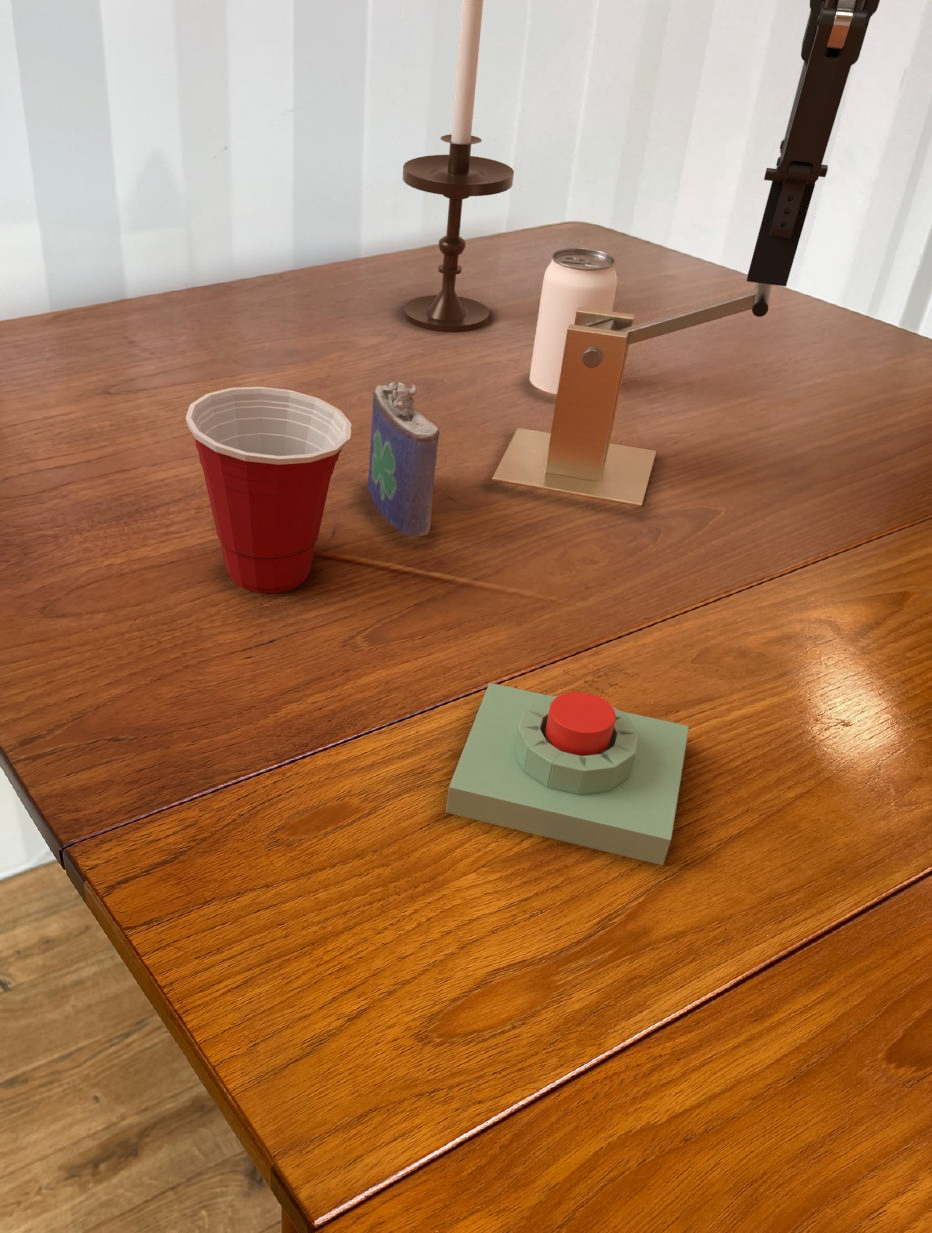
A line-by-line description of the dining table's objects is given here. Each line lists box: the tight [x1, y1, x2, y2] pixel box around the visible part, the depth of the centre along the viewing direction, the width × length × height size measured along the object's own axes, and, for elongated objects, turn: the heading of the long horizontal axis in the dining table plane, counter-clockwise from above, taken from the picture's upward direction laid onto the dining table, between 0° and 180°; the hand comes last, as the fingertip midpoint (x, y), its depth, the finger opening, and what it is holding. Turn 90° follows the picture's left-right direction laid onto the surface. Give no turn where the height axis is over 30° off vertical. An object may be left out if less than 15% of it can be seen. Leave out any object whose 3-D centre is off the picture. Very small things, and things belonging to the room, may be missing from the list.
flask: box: [366, 382, 440, 537], centre depth 83 cm, size 9×3×11 cm, turn 20°
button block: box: [445, 682, 690, 866], centre depth 63 cm, size 12×10×4 cm
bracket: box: [491, 307, 657, 508], centre depth 89 cm, size 12×10×13 cm
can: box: [529, 247, 618, 395], centre depth 102 cm, size 6×6×12 cm
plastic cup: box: [185, 386, 352, 594], centre depth 76 cm, size 11×11×12 cm
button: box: [545, 691, 616, 756], centre depth 62 cm, size 4×4×2 cm
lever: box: [592, 282, 772, 346], centre depth 83 cm, size 14×6×2 cm, turn 72°
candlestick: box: [402, 0, 515, 333], centre depth 107 cm, size 11×11×35 cm
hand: (766, 280), depth 79 cm, fingers closed
